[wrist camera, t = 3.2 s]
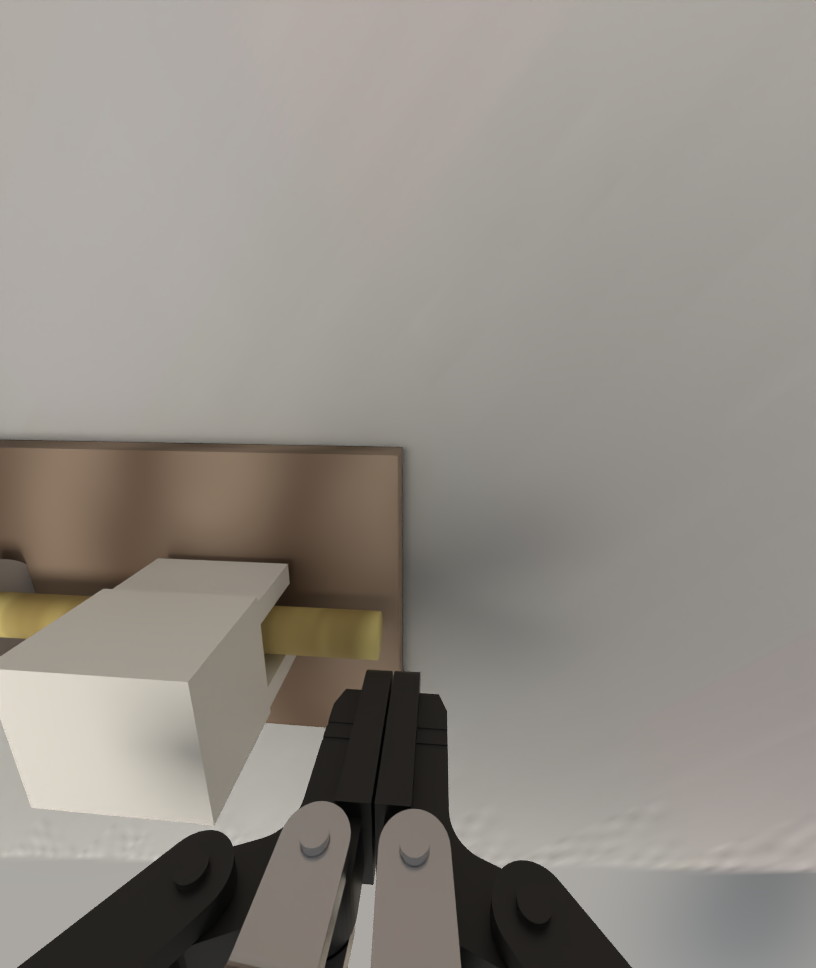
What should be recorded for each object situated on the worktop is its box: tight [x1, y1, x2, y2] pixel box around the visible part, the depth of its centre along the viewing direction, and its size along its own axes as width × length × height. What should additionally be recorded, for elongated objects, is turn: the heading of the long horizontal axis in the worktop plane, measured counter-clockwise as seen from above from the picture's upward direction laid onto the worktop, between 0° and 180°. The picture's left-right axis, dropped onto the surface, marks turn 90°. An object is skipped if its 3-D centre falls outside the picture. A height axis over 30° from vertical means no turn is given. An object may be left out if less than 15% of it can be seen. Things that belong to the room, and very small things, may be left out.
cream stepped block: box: [0, 558, 296, 825], centre depth 13 cm, size 5×4×6 cm
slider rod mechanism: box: [0, 440, 403, 727], centre depth 14 cm, size 20×12×7 cm, turn 90°
